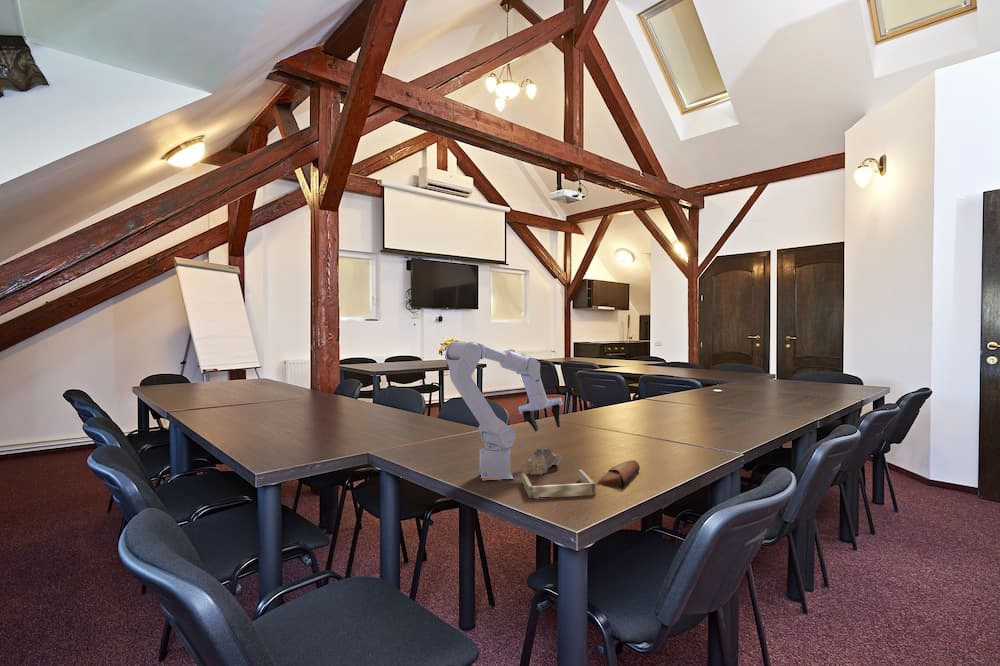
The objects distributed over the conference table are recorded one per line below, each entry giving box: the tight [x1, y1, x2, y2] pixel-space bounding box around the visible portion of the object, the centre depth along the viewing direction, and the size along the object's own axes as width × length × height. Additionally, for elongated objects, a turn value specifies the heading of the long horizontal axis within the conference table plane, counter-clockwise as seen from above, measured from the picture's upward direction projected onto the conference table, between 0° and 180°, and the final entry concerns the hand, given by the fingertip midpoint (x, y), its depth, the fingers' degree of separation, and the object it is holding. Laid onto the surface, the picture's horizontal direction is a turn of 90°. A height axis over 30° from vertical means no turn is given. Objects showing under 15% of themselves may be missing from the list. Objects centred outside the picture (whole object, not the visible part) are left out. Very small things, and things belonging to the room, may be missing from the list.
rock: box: [526, 447, 562, 476], centre depth 153 cm, size 6×14×7 cm, turn 132°
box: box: [521, 469, 597, 499], centre depth 136 cm, size 18×13×3 cm
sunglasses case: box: [596, 460, 641, 489], centre depth 144 cm, size 18×7×7 cm, turn 151°
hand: (547, 427), depth 161 cm, fingers open, 7 cm apart
